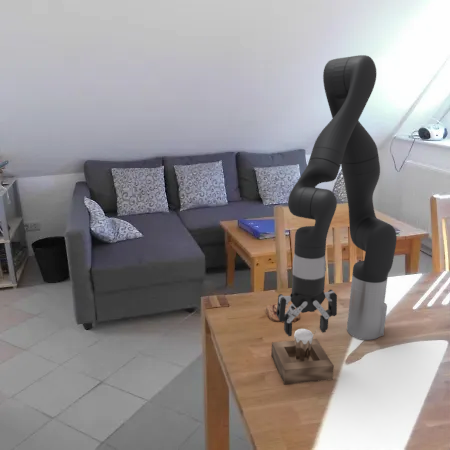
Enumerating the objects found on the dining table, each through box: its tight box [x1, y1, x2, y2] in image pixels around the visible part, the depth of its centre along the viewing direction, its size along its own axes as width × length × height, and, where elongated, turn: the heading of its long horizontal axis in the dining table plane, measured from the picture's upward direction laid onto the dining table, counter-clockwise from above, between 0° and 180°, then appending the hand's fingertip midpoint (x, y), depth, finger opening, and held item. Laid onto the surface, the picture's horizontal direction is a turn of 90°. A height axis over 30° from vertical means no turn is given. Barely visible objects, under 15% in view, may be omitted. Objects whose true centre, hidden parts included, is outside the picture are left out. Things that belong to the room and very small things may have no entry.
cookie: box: [265, 302, 301, 324], centre depth 147 cm, size 10×11×3 cm
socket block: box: [270, 338, 335, 385], centre depth 121 cm, size 12×12×4 cm
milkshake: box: [293, 328, 318, 362], centre depth 120 cm, size 4×5×10 cm
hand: (305, 332), depth 118 cm, fingers open, 8 cm apart
